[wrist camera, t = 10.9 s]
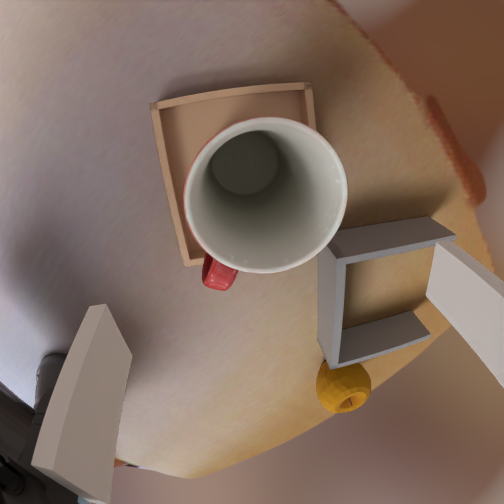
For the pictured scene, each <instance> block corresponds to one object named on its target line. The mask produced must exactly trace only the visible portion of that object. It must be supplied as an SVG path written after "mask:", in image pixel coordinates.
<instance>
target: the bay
mask: <svg viewBox="0 0 504 504" xmlns="http://www.w3.org/2000/svg"><path fill="white" fill-rule="evenodd" d="M447 239H449V240H450V241H451V242H453V241H455V239H456V234H454V233H453V232H451V231H450V230H448V229H447V228H445V227H444V226H442V225H441V224H439V223H438V222H436V221H435V220H433V219H432V218H430V217H429V216H425V217H419V218H412V219H406V220H400V221H394V222H387V223H381V224H375V225H368V226H362V227H356V228H350V229H344V230H338V231H337V232H336V233H335V235H334V237H333V238H332V239H331V241H330V242H329V243H328V244H327V245H326V246H325V247H324V248H323V249H322V250H321V251H320V252H319V253H318V339H317V340H318V342H319V344H320V347H321V349H322V351H323V354H324V356H325V358H326V361H327V363H328V366H329V368H330V370H332V369H336V368H340V367H343V366H347V365H350V364H354V363H357V362H361V361H364V360H367V359H371V358H374V357H377V356H380V355H383V354H386V353H390V352H393V351H395V350H398V349H401V348H404V347H407V346H410V345H412V344H415V343H418V342H421V341H423V340H426V339H428V338H430V335H431V334H430V333H429V331H428V330H427V329H426V328H425V326H424V325H423V324H422V323H421V321H420V320H419V319H418V318H417V316H416V315H415V314H414V313H413V312H412V310H411V311H407V312H404V313H401V314H398V315H394V316H391V317H387V318H384V319H381V320H377V321H373V322H370V323H366V324H362V325H359V326H355V327H351V328H347V329H343V330H342V320H343V308H344V293H345V276H346V264H350V263H355V262H360V261H365V260H370V259H375V258H380V257H385V256H389V255H394V254H399V253H404V252H408V251H413V250H417V249H422V248H426V247H431V246H435V245H436V242H438V241H443V240H447Z"/></svg>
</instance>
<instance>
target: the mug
mask: <svg viewBox="0 0 504 504" xmlns="http://www.w3.org/2000/svg"><path fill="white" fill-rule="evenodd" d="M347 197H348V186H347V177H346V174H345V170H344V167H343V165H342V162H341V160H340V158H339V156H338V154H337V153H336V151H335V150H334V148H333V147H332V146H331V144H330V143H329V142H328V141H327V140H326V139H325V138H324V137H323V136H322V135H321V134H319V133H318V132H317V131H316V130H314V129H312V128H311V127H309V126H307V125H305V124H303V123H301V122H298V121H295V120H292V119H289V118H284V117H278V116H262V117H254V118H248V119H245V120H241V121H239V122H236V123H234V124H232V125H230V126H228V127H226V128H224V129H222V130H221V131H220V132H218V133H217V134H215V135H214V136H213V137H212V138H211V139H209V140H208V141H207V142H206V144H205V145H204V146H203V147H202V148H201V149H200V151H199V152H198V154H197V155H196V157H195V158H194V160H193V162H192V164H191V166H190V168H189V171H188V173H187V176H186V180H185V185H184V192H183V205H184V212H185V217H186V221H187V224H188V226H189V229H190V231H191V233H192V235H193V236H194V238H195V240H196V241H197V242H198V244H199V245H200V246H201V247H202V248H203V249H204V250H205V251H206V253H205V258H204V263H203V269H202V282H203V284H204V285H205V286H207V287H209V288H212V289H216V290H221V291H225V290H227V289H229V288H230V287H231V285H232V284H233V282H234V280H235V278H236V275H237V273H238V270H240V271H244V272H250V273H276V272H281V271H285V270H288V269H291V268H294V267H297V266H299V265H301V264H303V263H305V262H306V261H308V260H310V259H311V258H313V257H314V256H315V255H317V254H318V253H319V252H320V251H321V250H322V249H323V248H324V247H325V246H326V245H327V244H328V243H329V242H330V241H331V239H332V238H333V237H334V235H335V233H336V232H337V230H338V228H339V226H340V224H341V222H342V219H343V217H344V213H345V209H346V205H347Z"/></svg>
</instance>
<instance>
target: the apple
mask: <svg viewBox="0 0 504 504" xmlns="http://www.w3.org/2000/svg"><path fill="white" fill-rule="evenodd" d="M316 392H317V396H318V399H319V400H320V402H321V404H322V405H323V406H324V407H325V408H326V409H327V410H329V411H331V412H334V413H343V412H349V411H352V410H354V409H356V408H358V407H360V406H361V405H362V404H363V403H364V402H365V401H366V400H367V398H368V397H369V395H370V393H371V379H370V377H369V374H368V373H367V371H366V370H365V369H364V368H363V366H362V365H360V364H359V363H354V364H350V365H347V366H343V367H340V368H336V369H332V370H330V368H329V366H328V363H327V361H325V362H324V363H323V364H322V365H321V367H320V370H319V372H318V376H317V383H316Z"/></svg>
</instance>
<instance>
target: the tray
mask: <svg viewBox="0 0 504 504" xmlns="http://www.w3.org/2000/svg"><path fill="white" fill-rule="evenodd" d="M150 109H151V115H152V121H153V127H154V132H155V138H156V143H157V148H158V154H159V159H160V164H161V169H162V173H163V178H164V183H165V187H166V192H167V197H168V201H169V205H170V210H171V214H172V218H173V222H174V227H175V231H176V235H177V239H178V243H179V247H180V251H181V255H182V258H183V262H184V266H185V267H189V266H195V265H201V264H203V263H204V258H205V253H206V251H205V250H204V249H203V248H202V247H201V246H200V245H199V244H198V242H197V241H196V240H195V238H194V236H193V235H192V233H191V231H190V229H189V226H188V224H187V221H186V217H185V212H184V205H183V192H184V185H185V180H186V176H187V173H188V171H189V168H190V166H191V164H192V162H193V160H194V158H195V157H196V155H197V154H198V152H199V151H200V149H201V148H202V147H203V146H204V145H205V144H206V142H207V141H208V140H209V139H211V138H212V137H213V136H214V135H215V134H217V133H218V132H220V131H221V130H222V129H224V128H226V127H228V126H230V125H232V124H234V123H236V122H239V121H241V120H245V119H248V118H254V117H262V116H278V117H284V118H289V119H292V120H295V121H298V122H301V123H303V124H305V125H307V126H309V127H311V128H312V129H314V130H316V122H315V111H314V102H313V92H312V84H311V82H297V83H279V84H267V85H256V86H246V87H238V88H230V89H223V90H216V91H210V92H204V93H198V94H193V95H188V96H182V97H178V98H173V99H168V100H164V101H159V102H155V103H151V104H150Z"/></svg>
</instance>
